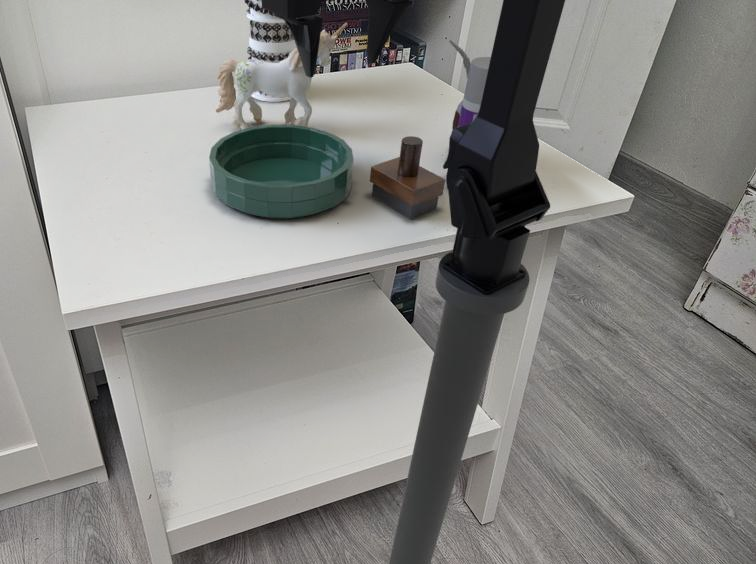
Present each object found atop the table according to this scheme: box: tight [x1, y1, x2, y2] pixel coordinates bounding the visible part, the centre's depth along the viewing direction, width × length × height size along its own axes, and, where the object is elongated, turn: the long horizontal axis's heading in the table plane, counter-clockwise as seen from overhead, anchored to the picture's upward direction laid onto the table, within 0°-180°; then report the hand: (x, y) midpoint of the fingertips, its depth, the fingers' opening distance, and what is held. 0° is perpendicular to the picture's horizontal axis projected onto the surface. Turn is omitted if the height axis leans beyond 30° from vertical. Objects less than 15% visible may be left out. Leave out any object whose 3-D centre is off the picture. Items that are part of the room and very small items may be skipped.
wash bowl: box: [208, 124, 354, 219], centre depth 80 cm, size 18×18×4 cm
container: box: [458, 56, 491, 127], centre depth 77 cm, size 5×5×15 cm
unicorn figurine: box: [215, 22, 349, 130], centre depth 91 cm, size 7×20×13 cm, turn 99°
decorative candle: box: [244, 0, 297, 103], centre depth 98 cm, size 9×9×25 cm
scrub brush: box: [369, 135, 446, 220], centre depth 76 cm, size 8×5×8 cm, turn 36°
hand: (341, 69), depth 76 cm, fingers open, 9 cm apart
